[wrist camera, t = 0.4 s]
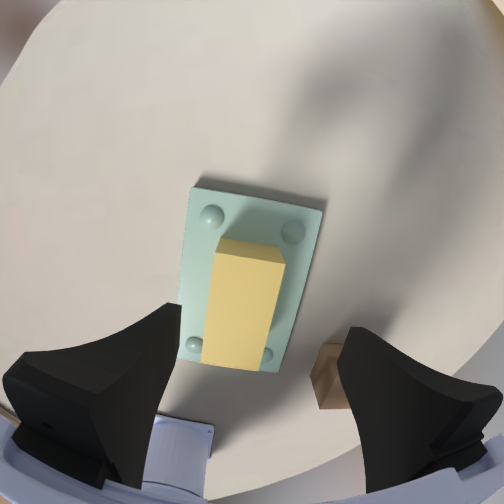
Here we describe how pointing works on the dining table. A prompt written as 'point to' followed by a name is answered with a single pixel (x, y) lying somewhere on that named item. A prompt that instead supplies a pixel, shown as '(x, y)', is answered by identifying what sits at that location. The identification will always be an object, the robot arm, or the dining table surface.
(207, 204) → the plate
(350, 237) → the dining table surface
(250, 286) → the ochre brick
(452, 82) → the dining table surface
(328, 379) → the walnut block
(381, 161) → the dining table surface
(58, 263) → the dining table surface
